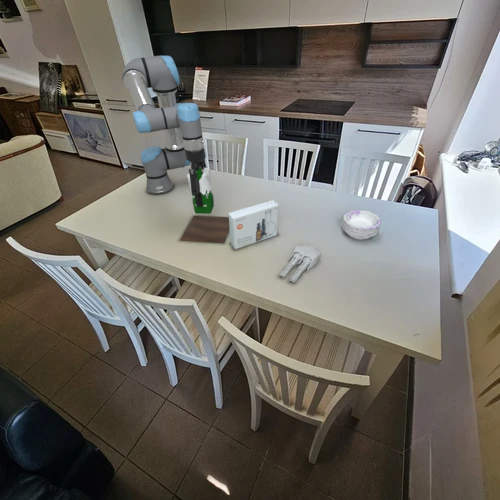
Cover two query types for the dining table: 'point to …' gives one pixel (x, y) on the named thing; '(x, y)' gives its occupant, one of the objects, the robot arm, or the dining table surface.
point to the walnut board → (207, 229)
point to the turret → (301, 260)
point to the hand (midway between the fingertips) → (203, 200)
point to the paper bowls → (361, 224)
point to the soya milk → (203, 191)
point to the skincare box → (253, 224)
